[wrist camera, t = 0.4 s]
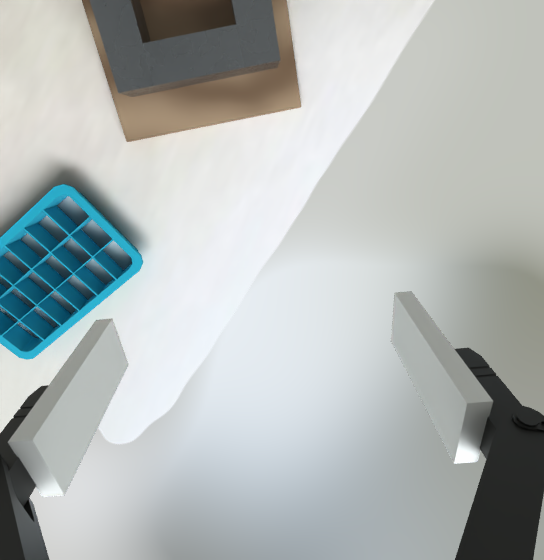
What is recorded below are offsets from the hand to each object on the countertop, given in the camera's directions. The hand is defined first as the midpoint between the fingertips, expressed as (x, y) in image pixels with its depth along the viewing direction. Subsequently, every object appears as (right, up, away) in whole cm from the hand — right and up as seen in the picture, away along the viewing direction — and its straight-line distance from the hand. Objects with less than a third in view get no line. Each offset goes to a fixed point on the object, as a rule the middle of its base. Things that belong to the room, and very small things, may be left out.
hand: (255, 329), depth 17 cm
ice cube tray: (-25, +4, +26) cm, 36 cm away
